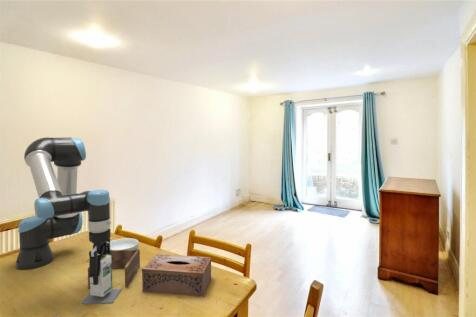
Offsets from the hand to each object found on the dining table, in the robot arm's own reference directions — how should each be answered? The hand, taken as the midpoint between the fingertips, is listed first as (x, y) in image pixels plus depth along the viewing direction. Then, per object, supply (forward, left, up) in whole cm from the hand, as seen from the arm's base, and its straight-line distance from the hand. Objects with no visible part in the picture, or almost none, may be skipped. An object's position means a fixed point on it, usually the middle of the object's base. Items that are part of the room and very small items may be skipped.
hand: (101, 286), depth 105 cm
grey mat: (0, 0, -4) cm, 4 cm away
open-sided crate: (0, +15, -4) cm, 16 cm away
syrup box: (0, 0, -3) cm, 3 cm away
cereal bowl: (-5, +37, -5) cm, 38 cm away
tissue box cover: (+29, +7, -5) cm, 30 cm away
